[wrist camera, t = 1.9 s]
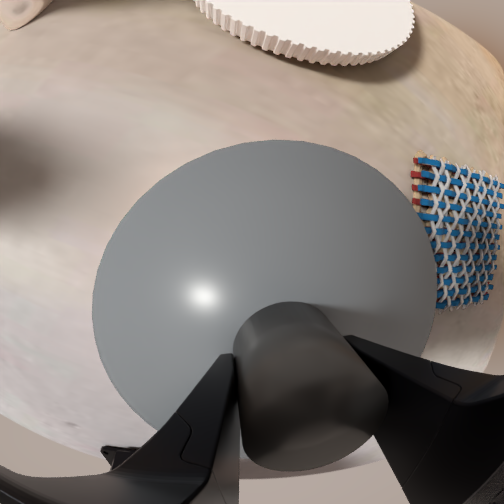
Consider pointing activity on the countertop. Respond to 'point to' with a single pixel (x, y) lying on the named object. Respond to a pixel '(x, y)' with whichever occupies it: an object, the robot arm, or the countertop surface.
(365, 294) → the cover
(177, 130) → the countertop surface
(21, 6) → the beer glass
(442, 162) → the woven mat
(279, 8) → the plastic lid
